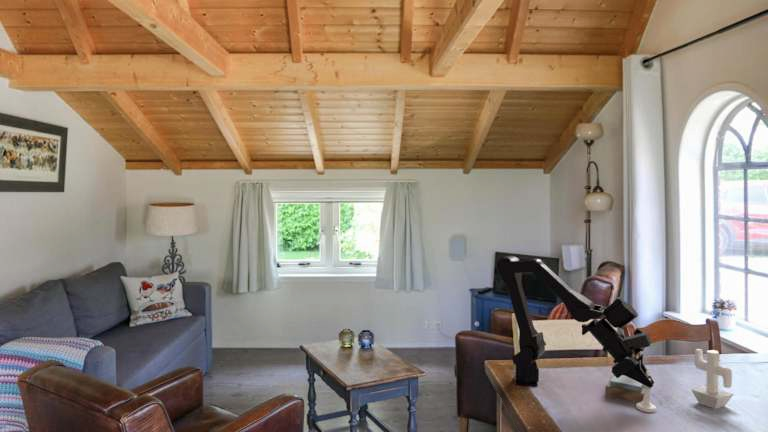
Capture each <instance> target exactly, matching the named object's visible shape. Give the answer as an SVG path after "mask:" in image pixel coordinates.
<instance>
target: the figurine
mask: <svg viewBox="0 0 768 432" xmlns="http://www.w3.org/2000/svg"><path fill="white" fill-rule="evenodd" d="M720 362H721V359H720V352H719V351H718V350H717V349H716V350H715V349H711V350H707V351H706V360H705V359H704V351H703V349H701V348H696V349H695V350H694V366H695V367H696V369H698V370H701V371H704V372H705V373H706V385H702V386H701V385H700V386H697V387H693V388H690V390H691V392H692V393H693V395H694V397H695V399H696V401H697V403H699V404H701V405H703V406H706V407H709V408H711V409H714V410H717V409H720V408H723V407H726V405H727V404H728V402H729V401H730V400H731V399H732V397H733V396H734V393H732V392H729V391H726V390H723V389H720V388H719V376H720V377H722V383H723V384H722V386H723V387H724V388H727V389H731V388H732V385H733V384H732V383H733V382H732V381H733V374H732V373H733V372H732V369H731V368H729V366H724V365H720Z"/></svg>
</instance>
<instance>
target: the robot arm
mask: <svg viewBox="0 0 768 432" xmlns="http://www.w3.org/2000/svg"><path fill="white" fill-rule="evenodd" d="M495 268H496V271H497V274H498V276H499V278H500V279H501V281H502V282H503V283H504V285H505V287H506V289H507V292H508V295H509V298H510V303H511V305H512V310H513V314H514V317H515V321H516V324H517V328H518V331H519V332H518V333H519V335H518V337H519V338H518V347H519V348H518V349H519V352H517V353H516V354H515V355H513V356H512V357H511V358H512V362H513V365H514V376H513V379H514V383H515V385H518V386H519V385H520V386H530V387H531V386H535V387H537V386H538V385H539V384H538V383H539V379H540V377H539V376H540V373H539V372H540V370H539V369H540V368H539V367H538V365H537V362H536V361H538V359H539V358H540V357H541V356H542V355H543V354H544V353H545V351H546V345H547V343H546V341H545V339H544V333H543V331H540V332H538V331H537V330H536V328H535V326H534V322H533V320H532V319H533V318H532V316H531V311H530V309H529V305H528V302H527V299H526V295H525V291H524V288H523V284H522V277H523V273H532V274H533V275H534V276H536V277H537V278H538V280H540V282H542V283H543V284H544V285H545V286H546V287H547V288H548V289H549V290H550V291H551V292H552V293H553V294H554V295H555V296H557V297H558V299H559V300H561V302H562V303H563V305H564V307H565V308H566V311H567V312H568V313H569V314H570V316H572V318H573V320H575V321H577V322H579V323H583V324H582V325H581V335H582V336H585V335H587V333H588V332H589V333H590V334H591V335H592V336H593V338H595V340H596V341H597V342H598V343H599V344H600V345H601V346H602V348H601V350H602V351H603V352H607V353H608V354H609V355H610V356H611V357H612V358H613V363H614V364H613V365H612V367H611V373H612V374H613V375H615V377H616V378H619V377H620V376H622V375H625V376H627V377H629V378H631V379H633V380H635V381H637V382H639V383H641V384H643V385H645V386H647V387H649V388H651V389H652V388H653V387H654V384H655V381H654V379H653V378H652V376H648V377H647V375H646V371H647V372H648V374H650V373H649V371H648V369H647V367H646V366H645V364H644V356H645V355H644V353H642V354H641V355H639V353H640V352H644V350H645V348H648V347H650V346H651V344H652V340H651V338H650V334H649V333H648V332H647V331H644V330H643V329H641V328H640V327H639V328H635V329H634V330H633V334H631V335H629V336H626V335H625V334H624V333H619V332H618V331H617V329H616V328H619V329H623V328H625V327H626V326H627V325H628V324H630V323H631V322H632V321H634V320H635V319H636V318H637V317H639V313H638V312H637V311H636V309H635V308H634V307H633V306H632V305H631V304H629V303H628V302H626V301H625V300H623V299H622V298H621V297H620V296H619V297H616V299H614V301H613V302H612V303H611V304H609V305H608V306H603V305H599V304H595V303H594V302H593V301H592V300H590V299H589V298H587V297H586V296H585V295H583V294H581V293H578V292H577V291H575V290H573V289H572V288H571V287H570V285H569V286H568V285H567V284H566V282H565V281H563V280H562V279H561V278H560V277H559V276H558V275H557V274H556V273H555V271H553V270H551V268H549V267H548V266H547V265H546V264H545V263H544V262H543V260H541V259H540V258H532V259H531V258H519V257H516V256H514V255H508V256H504V257H501V258H499V259H498V260H497V261H496V264H495ZM602 316H603V317H602ZM600 317H602V318H600ZM599 318H600V319H599ZM590 320H591V321H590ZM586 322H587V323H586ZM588 322H589V323H588ZM649 378H650V379H651V381H650V380H649Z"/></svg>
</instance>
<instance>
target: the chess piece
mask: <svg viewBox="0 0 768 432" xmlns="http://www.w3.org/2000/svg"><path fill="white" fill-rule="evenodd" d="M647 371H648V370H647ZM647 371H646V375H647V377H648V376H651V375H652V374H650V373H649V374H648V372H649V371H648V372H647ZM651 377H652V376H651ZM649 380H650V381H651V379H650V378H649ZM642 388H643V389H645V390H644V397H643V401H641V402H639V403H635V405H636V406H635V408H636V409H638V410H639V411H642V412H645V413H646V412H647V413H655V412H657V407H656V406H655V405H654V404H652V402H651V401H650V390H652V387H651V388H649V387H647V386H642Z"/></svg>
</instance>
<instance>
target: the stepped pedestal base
mask: <svg viewBox="0 0 768 432" xmlns="http://www.w3.org/2000/svg"><path fill="white" fill-rule="evenodd" d="M642 386H645V385H643V384H641V383H639V382H637V381H635V380H633V379H631V378H629V377H627V376H625V375H622V376H620V377H619V378H616V377H615V375H614V374H613V375H611V376H610V379H609V380H608V381H607V383H606V384H605V395H604V397H605V398H610V399H611V398H612V399H615V400H620V401H625V402H630V403H633V404H637V403H639V402H641V401H643V397H644V390H645V389H643V388H642Z"/></svg>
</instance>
